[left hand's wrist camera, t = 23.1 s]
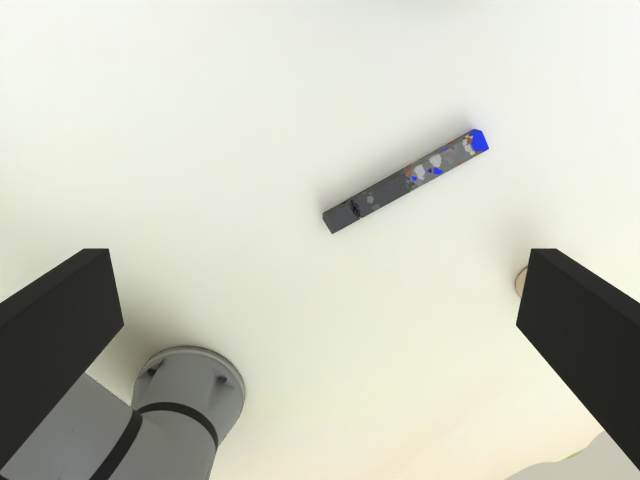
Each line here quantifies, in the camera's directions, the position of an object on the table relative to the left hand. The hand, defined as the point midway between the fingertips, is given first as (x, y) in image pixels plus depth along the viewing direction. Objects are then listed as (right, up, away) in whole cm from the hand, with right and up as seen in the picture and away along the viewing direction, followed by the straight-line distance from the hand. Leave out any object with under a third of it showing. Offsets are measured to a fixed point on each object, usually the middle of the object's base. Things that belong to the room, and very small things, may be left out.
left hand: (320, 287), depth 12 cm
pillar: (+10, +9, +34) cm, 36 cm away
